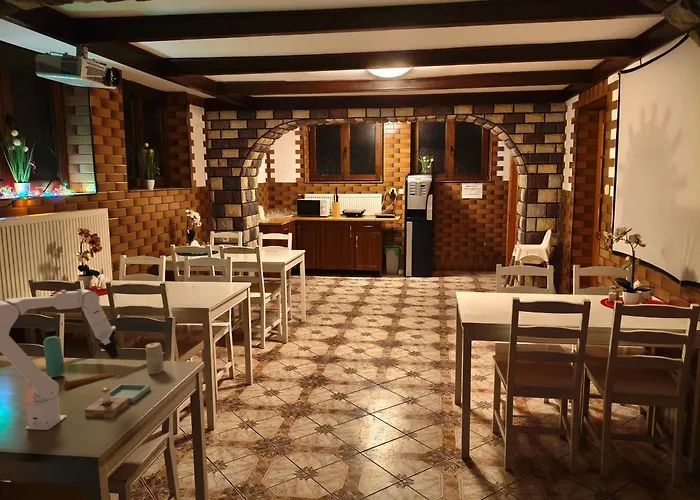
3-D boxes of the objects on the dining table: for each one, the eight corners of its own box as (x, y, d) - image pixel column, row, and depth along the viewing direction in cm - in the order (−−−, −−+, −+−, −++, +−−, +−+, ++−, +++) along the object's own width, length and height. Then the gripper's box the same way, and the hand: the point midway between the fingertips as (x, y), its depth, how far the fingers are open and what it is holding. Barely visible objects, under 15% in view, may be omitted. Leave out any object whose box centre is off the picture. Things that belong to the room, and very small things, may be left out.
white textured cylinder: (145, 376, 216) (142, 347, 214) (150, 369, 224) (147, 341, 222) (161, 375, 217) (158, 346, 215) (166, 368, 224) (163, 340, 222)
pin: (109, 412, 184) (106, 390, 183) (101, 412, 185) (98, 390, 183) (114, 408, 187) (112, 386, 186) (106, 408, 188) (104, 386, 186)
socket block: (112, 417, 180) (111, 410, 180) (85, 416, 182) (84, 409, 181) (129, 404, 190) (128, 397, 190) (103, 403, 191) (102, 397, 191)
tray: (133, 403, 191) (132, 398, 190) (102, 402, 193) (101, 397, 192) (150, 389, 202) (150, 384, 202) (121, 388, 204) (120, 383, 204)
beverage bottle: (64, 378, 216) (59, 330, 213) (45, 381, 214) (39, 333, 211) (66, 373, 222) (61, 326, 219) (48, 375, 220) (42, 328, 217)
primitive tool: (111, 373, 222) (110, 365, 221) (117, 376, 218) (117, 368, 218) (62, 388, 207) (61, 380, 207) (68, 392, 204) (67, 383, 203)
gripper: (111, 323, 183) (127, 355, 188) (108, 309, 195) (123, 340, 201) (90, 332, 180) (107, 365, 186) (88, 317, 193) (104, 348, 198)
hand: (114, 352), depth 193 cm, fingers open, 7 cm apart
